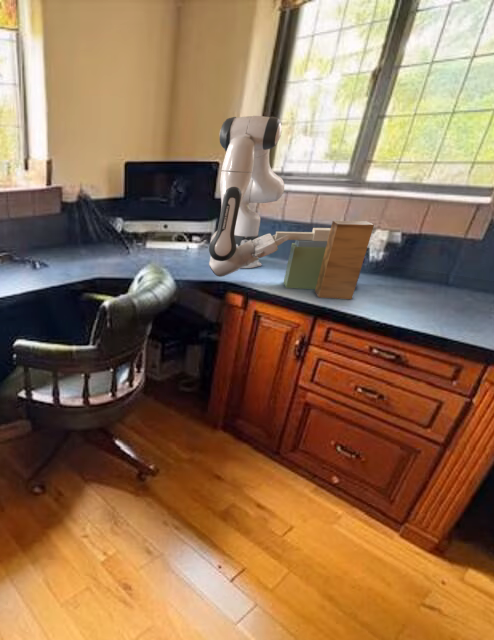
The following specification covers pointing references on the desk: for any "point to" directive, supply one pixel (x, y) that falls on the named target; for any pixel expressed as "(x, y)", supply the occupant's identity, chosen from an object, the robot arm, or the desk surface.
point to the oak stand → (343, 259)
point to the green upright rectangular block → (304, 264)
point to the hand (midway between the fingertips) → (286, 235)
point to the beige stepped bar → (306, 235)
